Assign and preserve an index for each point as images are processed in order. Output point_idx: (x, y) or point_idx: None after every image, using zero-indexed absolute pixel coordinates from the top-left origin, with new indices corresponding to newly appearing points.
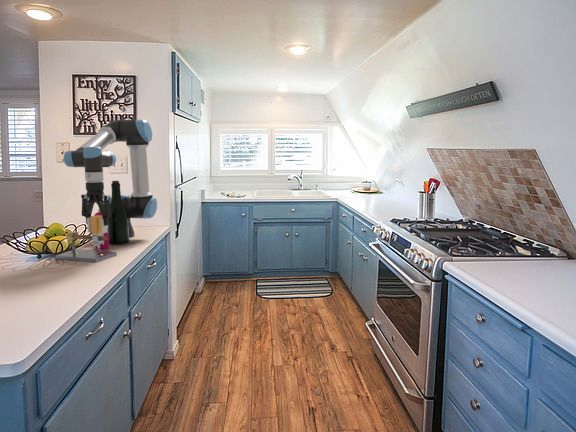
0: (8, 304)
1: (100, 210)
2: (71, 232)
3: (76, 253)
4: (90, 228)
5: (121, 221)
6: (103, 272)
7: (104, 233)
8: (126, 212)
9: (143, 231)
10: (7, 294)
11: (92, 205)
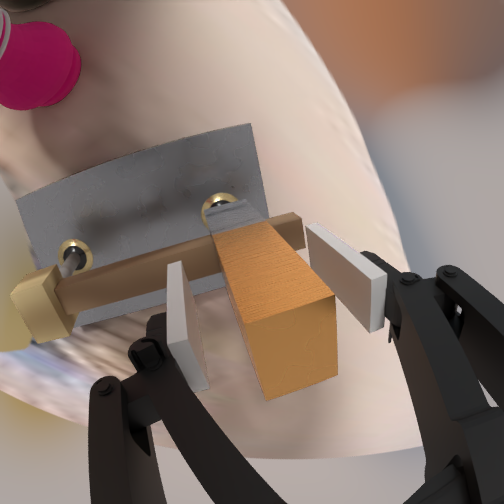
0: (349, 454)
1: (415, 392)
2: (29, 315)
3: (99, 260)
4: (193, 305)
5: None
6: None
7: (40, 51)
8: None
9: None
10: (311, 456)
11: (272, 491)
